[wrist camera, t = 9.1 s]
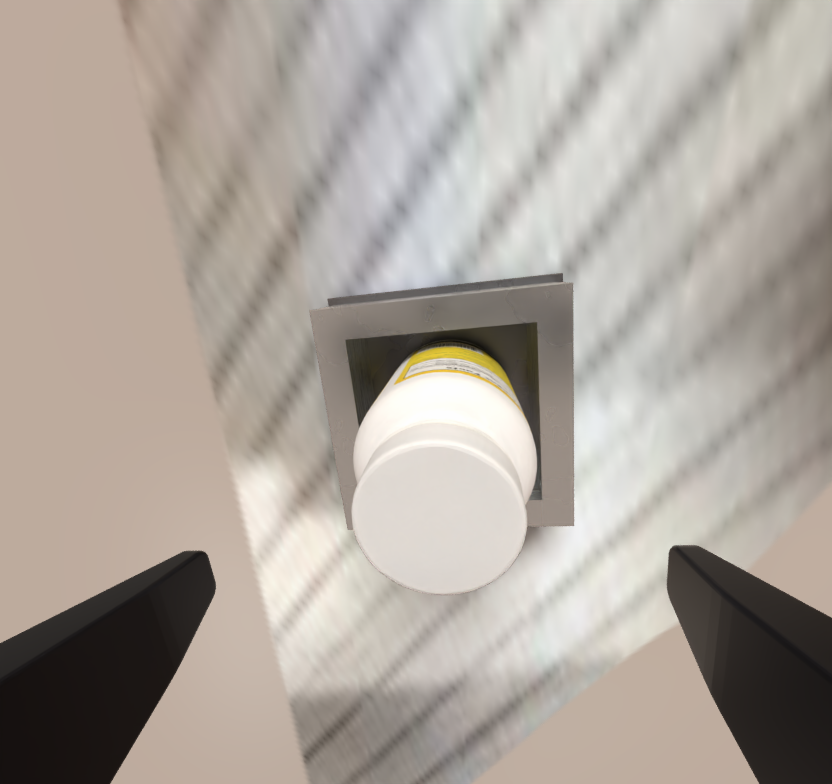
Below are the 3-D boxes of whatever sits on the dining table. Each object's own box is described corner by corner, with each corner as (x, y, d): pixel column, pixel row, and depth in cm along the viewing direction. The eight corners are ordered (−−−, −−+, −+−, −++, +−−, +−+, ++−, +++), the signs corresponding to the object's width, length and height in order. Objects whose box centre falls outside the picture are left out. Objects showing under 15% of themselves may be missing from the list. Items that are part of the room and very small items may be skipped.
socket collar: (558, 273, 17) (582, 272, 13) (561, 485, 20) (581, 532, 16) (333, 298, 18) (300, 303, 15) (364, 491, 21) (342, 535, 18)
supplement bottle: (444, 472, 19) (422, 655, 10) (368, 389, 19) (269, 503, 9) (537, 404, 18) (612, 545, 8) (458, 311, 17) (446, 354, 8)
